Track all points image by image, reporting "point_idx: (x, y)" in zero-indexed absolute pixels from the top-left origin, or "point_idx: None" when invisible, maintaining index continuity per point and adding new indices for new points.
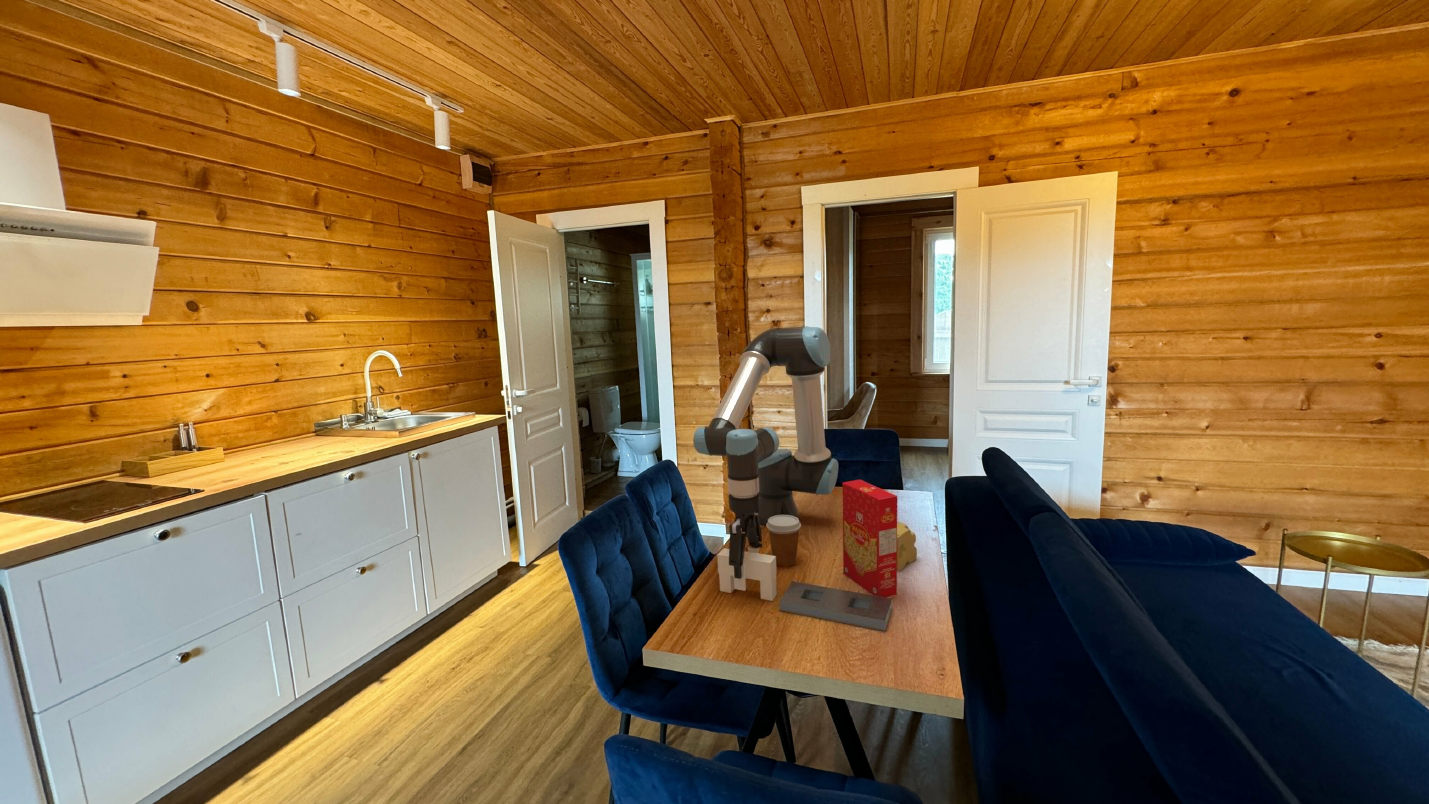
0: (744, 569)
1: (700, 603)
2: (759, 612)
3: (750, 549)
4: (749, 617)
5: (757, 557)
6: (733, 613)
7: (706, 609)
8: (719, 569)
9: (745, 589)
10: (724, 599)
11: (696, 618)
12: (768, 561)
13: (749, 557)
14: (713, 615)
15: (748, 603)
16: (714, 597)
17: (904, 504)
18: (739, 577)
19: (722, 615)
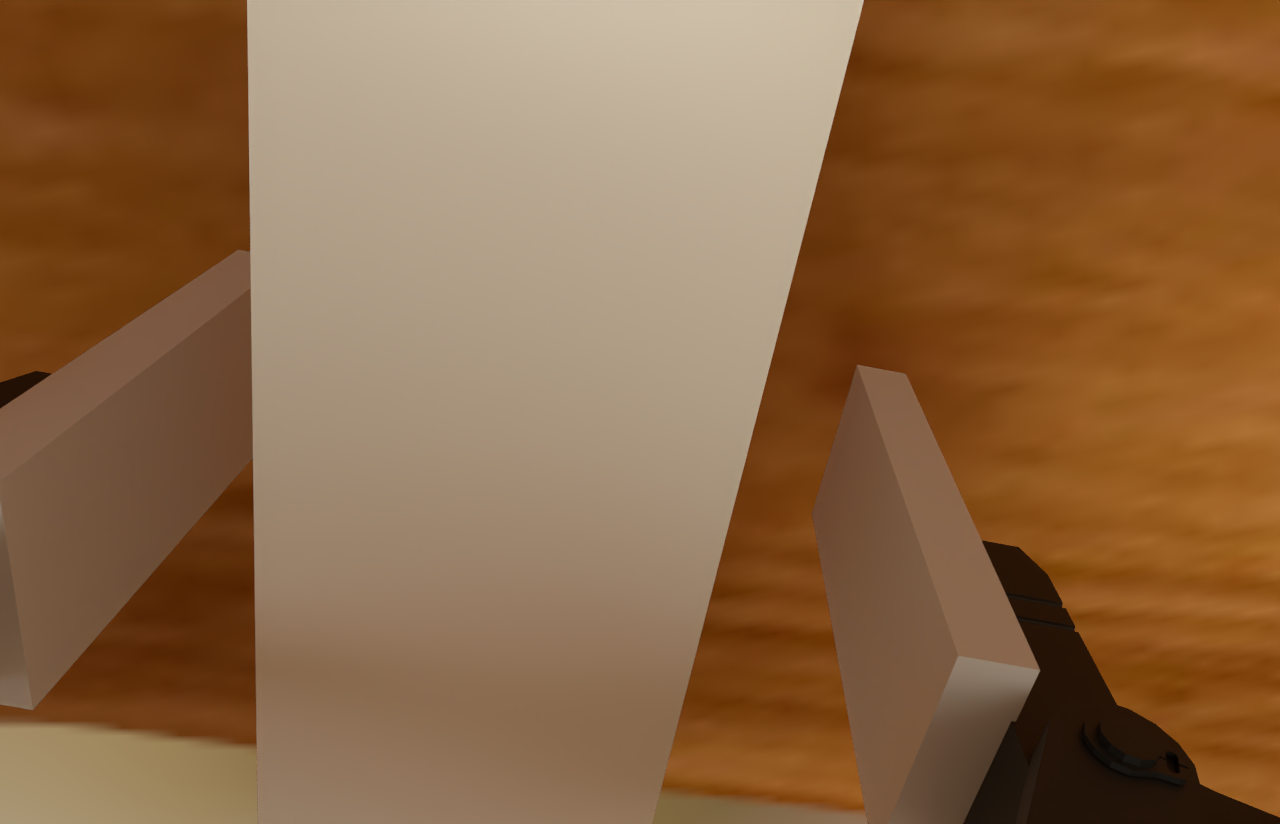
0: (965, 579)
1: None
2: (1093, 60)
3: (42, 636)
4: (1224, 177)
5: (519, 414)
6: (1112, 392)
7: None
8: None
9: (876, 369)
10: (789, 544)
11: (1205, 719)
12: (762, 3)
13: (569, 610)
14: (1151, 586)
15: (855, 258)
16: (758, 645)
17: None
18: (1041, 577)
19: (1155, 500)
